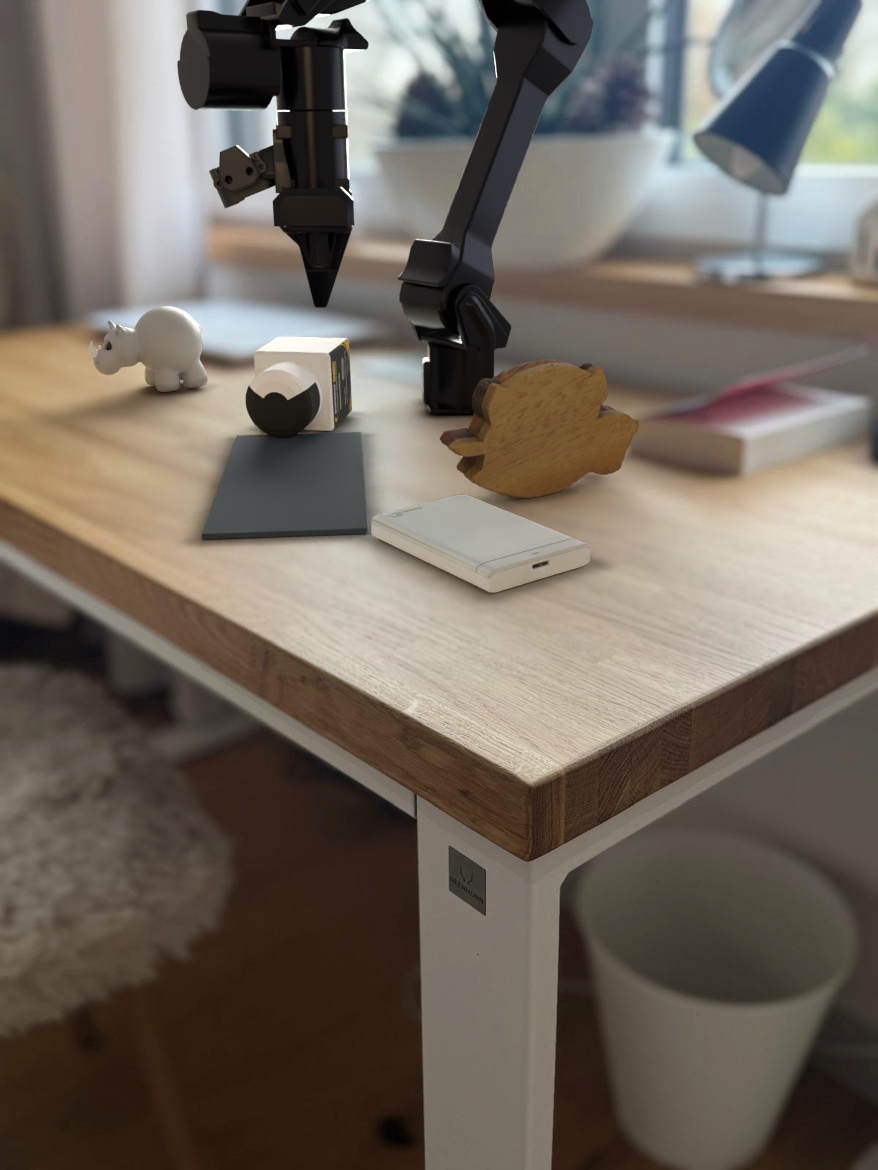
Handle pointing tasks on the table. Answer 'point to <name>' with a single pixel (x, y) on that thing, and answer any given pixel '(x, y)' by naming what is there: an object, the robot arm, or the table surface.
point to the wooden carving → (541, 429)
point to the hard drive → (480, 542)
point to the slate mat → (290, 487)
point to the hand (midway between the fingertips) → (320, 307)
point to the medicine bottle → (300, 385)
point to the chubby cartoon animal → (156, 349)
